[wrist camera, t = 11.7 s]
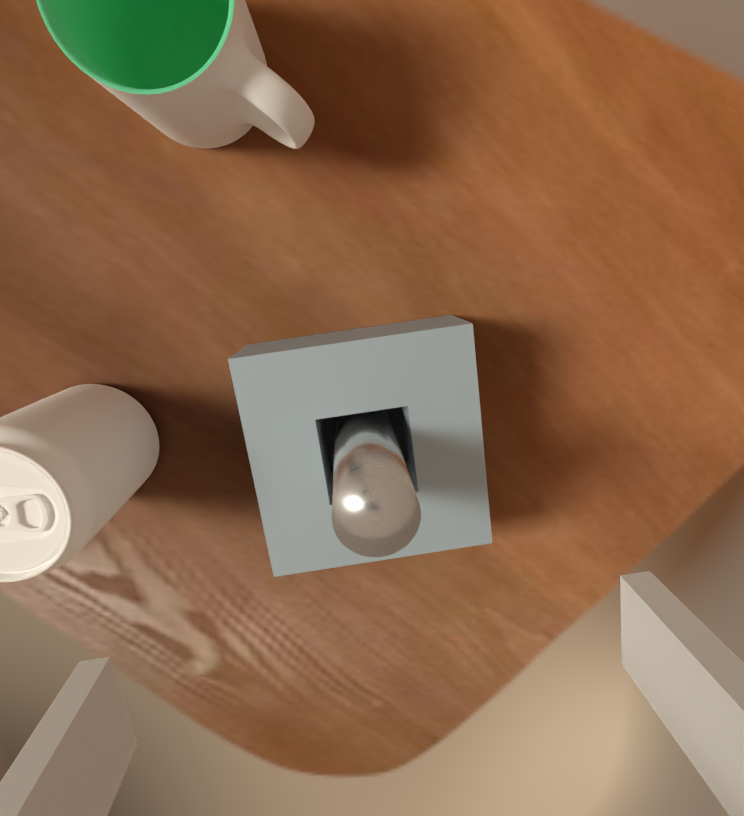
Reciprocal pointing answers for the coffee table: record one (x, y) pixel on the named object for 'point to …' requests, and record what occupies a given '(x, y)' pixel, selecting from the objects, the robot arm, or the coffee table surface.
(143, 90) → the mug
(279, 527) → the socket block
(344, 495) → the peg
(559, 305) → the coffee table surface
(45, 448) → the beverage can
